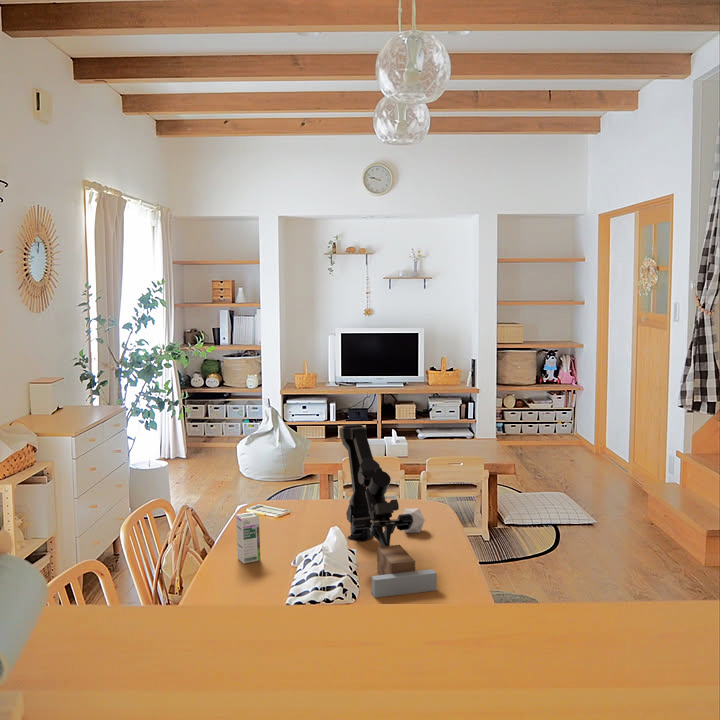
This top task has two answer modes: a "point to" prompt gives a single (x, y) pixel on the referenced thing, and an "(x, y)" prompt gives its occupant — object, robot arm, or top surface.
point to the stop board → (404, 583)
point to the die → (415, 520)
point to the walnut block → (394, 560)
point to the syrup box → (248, 537)
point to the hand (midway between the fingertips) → (387, 550)
